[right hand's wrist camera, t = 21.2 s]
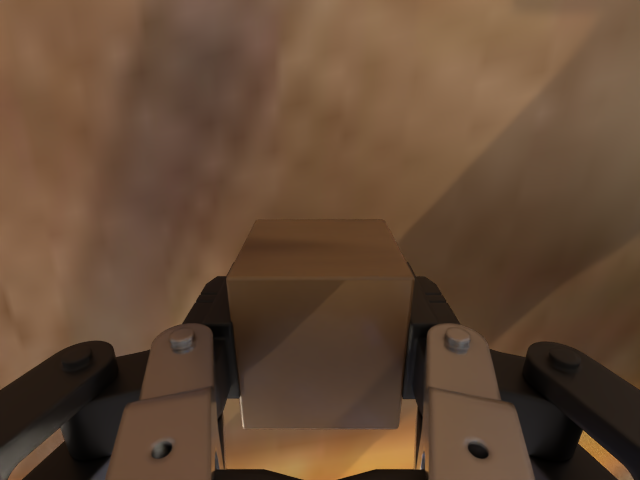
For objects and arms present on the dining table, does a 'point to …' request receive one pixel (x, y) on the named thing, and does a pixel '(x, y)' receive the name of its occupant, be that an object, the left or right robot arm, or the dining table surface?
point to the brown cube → (320, 324)
